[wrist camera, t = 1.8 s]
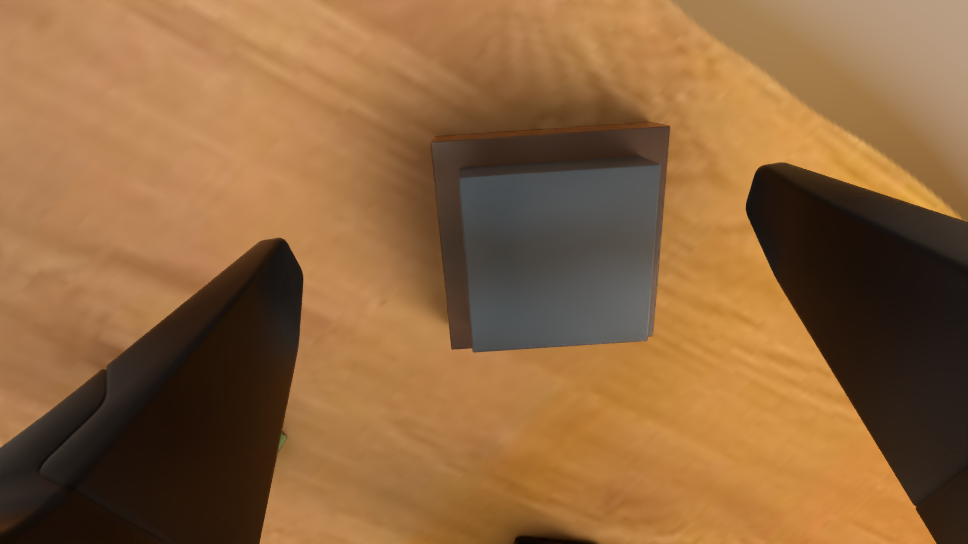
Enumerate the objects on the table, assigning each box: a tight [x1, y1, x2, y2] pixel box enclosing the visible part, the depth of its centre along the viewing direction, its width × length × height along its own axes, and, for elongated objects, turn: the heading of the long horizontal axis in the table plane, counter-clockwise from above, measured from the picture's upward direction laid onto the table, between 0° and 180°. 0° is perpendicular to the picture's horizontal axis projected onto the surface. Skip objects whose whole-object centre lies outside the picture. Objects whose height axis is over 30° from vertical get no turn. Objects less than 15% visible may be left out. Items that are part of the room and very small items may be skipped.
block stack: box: [431, 122, 670, 352], centre depth 24 cm, size 11×11×5 cm
